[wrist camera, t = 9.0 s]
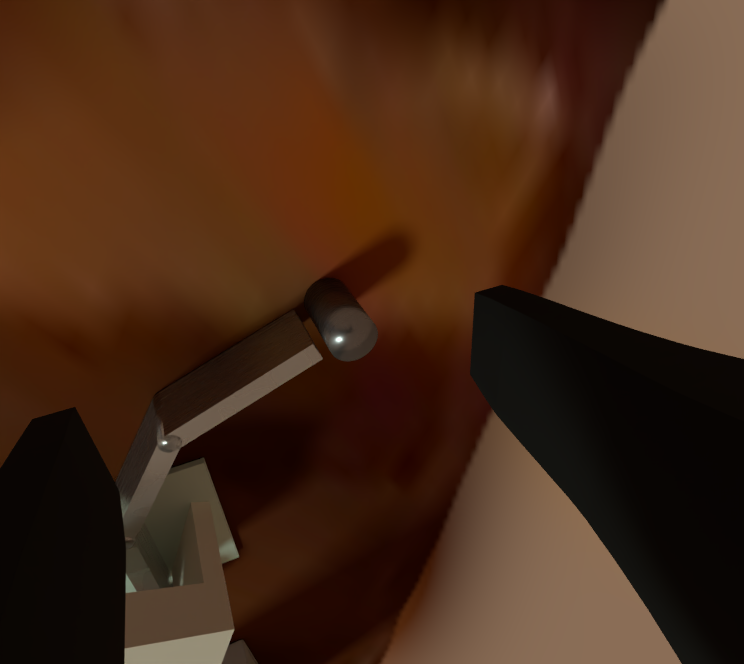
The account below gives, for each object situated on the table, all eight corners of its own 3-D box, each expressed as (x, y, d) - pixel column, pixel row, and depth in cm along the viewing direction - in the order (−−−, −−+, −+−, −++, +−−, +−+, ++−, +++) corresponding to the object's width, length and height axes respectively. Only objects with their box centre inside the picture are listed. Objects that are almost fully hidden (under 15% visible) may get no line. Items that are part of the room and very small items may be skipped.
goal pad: (88, 609, 25) (88, 615, 24) (21, 517, 21) (19, 524, 20) (237, 552, 27) (239, 557, 26) (203, 457, 23) (204, 462, 22)
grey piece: (60, 607, 24) (56, 675, 22) (220, 238, 18) (238, 277, 16) (183, 601, 27) (191, 660, 25) (355, 285, 21) (386, 324, 19)
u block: (189, 569, 25) (207, 700, 21) (74, 582, 23) (67, 734, 18) (209, 501, 24) (234, 629, 19) (87, 507, 21) (82, 656, 17)
